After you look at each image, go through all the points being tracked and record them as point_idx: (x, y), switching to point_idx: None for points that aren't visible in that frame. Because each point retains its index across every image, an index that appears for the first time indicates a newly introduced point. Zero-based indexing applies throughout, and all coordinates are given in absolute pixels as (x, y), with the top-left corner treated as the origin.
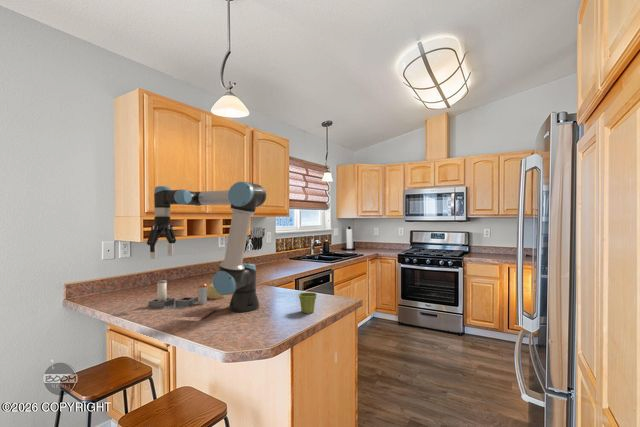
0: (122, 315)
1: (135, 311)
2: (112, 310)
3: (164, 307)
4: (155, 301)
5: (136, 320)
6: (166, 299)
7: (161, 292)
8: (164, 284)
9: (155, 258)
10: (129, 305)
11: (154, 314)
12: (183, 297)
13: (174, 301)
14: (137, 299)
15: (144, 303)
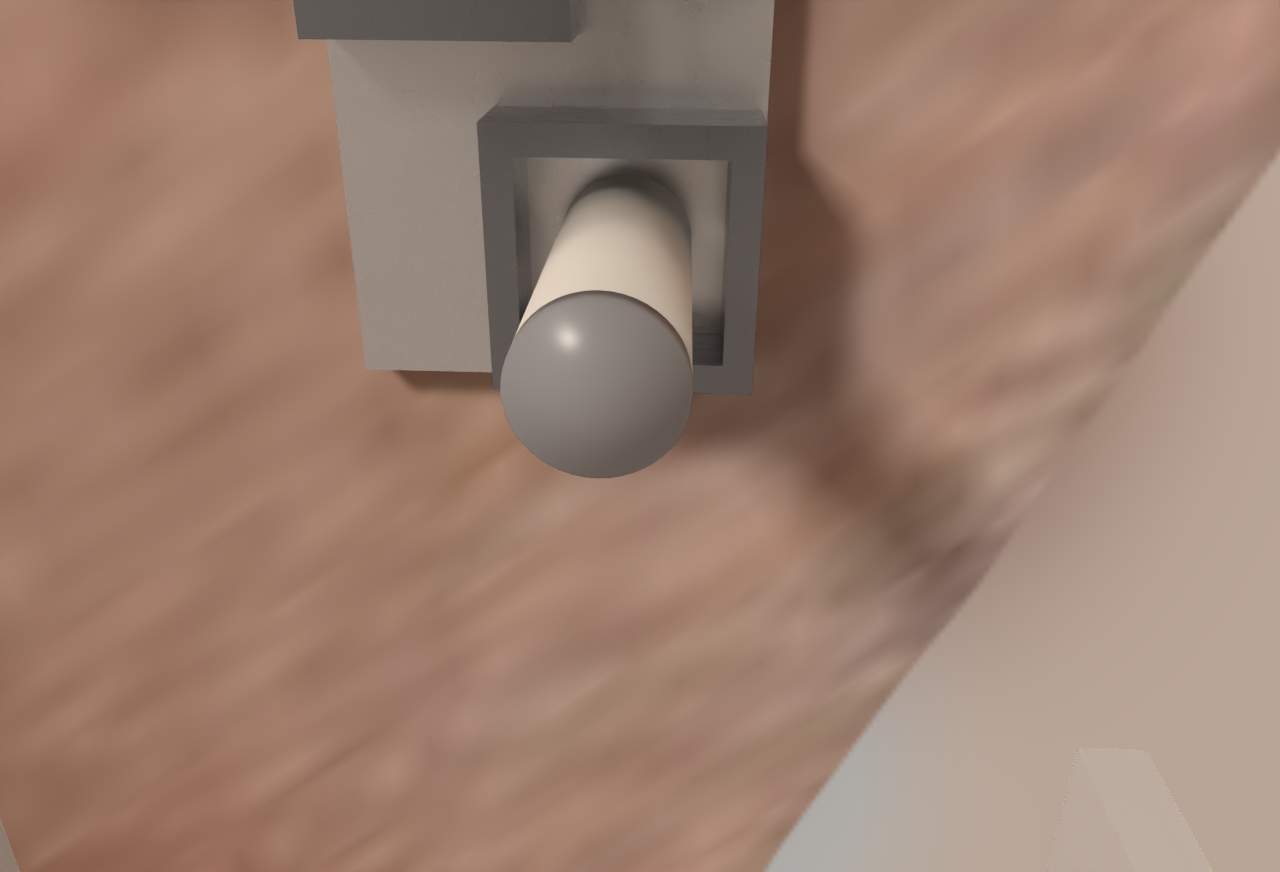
0: (967, 515)
1: (795, 479)
2: (777, 732)
3: (753, 112)
4: (732, 302)
5: (1191, 212)
6: (596, 200)
7: (682, 275)
8: (636, 288)
9: (1133, 755)
10: (562, 696)
11: (918, 146)
12: (345, 17)
13: (488, 112)
14: (308, 770)
15: (445, 597)
